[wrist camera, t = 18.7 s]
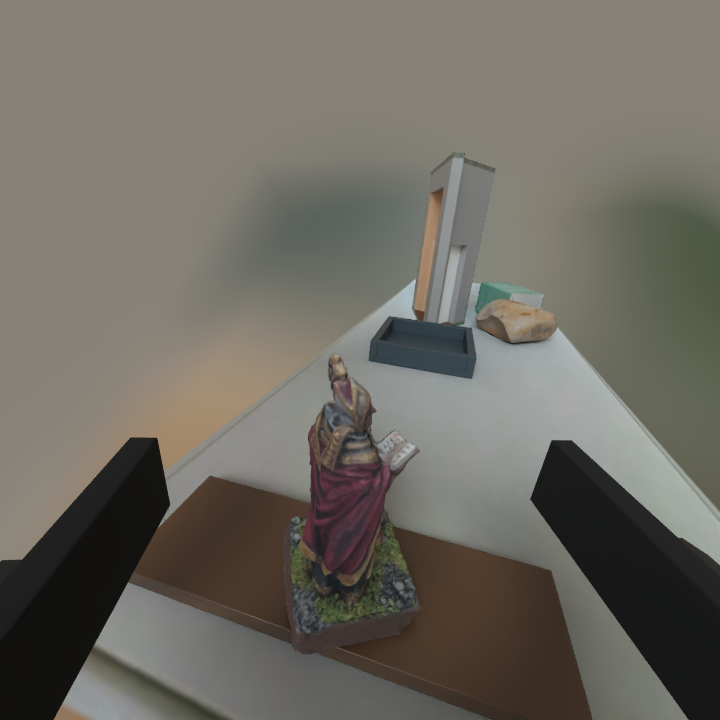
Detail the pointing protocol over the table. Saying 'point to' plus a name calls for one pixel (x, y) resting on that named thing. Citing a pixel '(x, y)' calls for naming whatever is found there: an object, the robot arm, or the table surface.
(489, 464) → the table surface
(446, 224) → the cabinet
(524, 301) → the box
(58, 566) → the robot arm
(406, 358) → the dark grey square tray
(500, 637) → the board
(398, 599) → the figurine
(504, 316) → the stone
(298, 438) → the table surface
